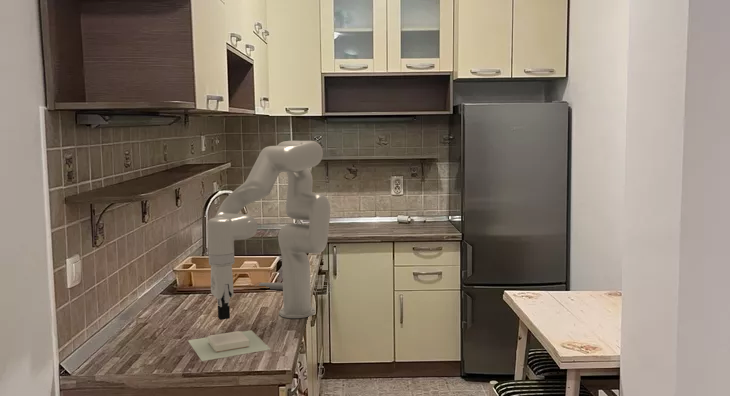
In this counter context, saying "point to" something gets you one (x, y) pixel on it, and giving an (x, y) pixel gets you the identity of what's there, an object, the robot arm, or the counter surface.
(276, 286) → the kitchen whisk
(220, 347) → the tile
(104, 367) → the counter surface
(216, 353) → the mat
